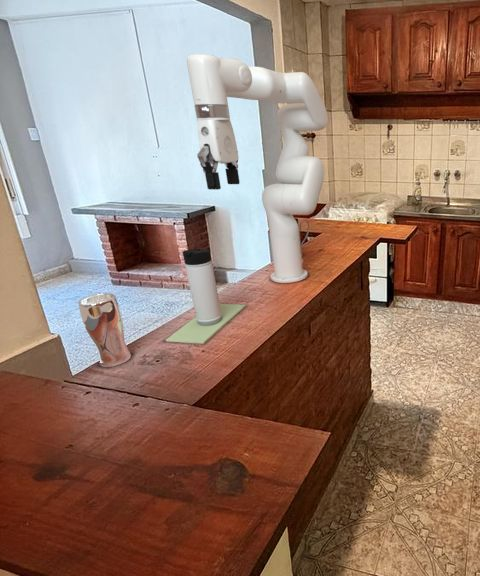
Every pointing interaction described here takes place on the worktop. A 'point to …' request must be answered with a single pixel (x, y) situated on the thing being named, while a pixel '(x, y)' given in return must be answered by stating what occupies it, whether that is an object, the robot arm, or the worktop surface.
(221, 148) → the robot arm
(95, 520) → the worktop surface
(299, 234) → the glass holder
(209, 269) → the travel mug
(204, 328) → the sage mat
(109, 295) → the beer glass
